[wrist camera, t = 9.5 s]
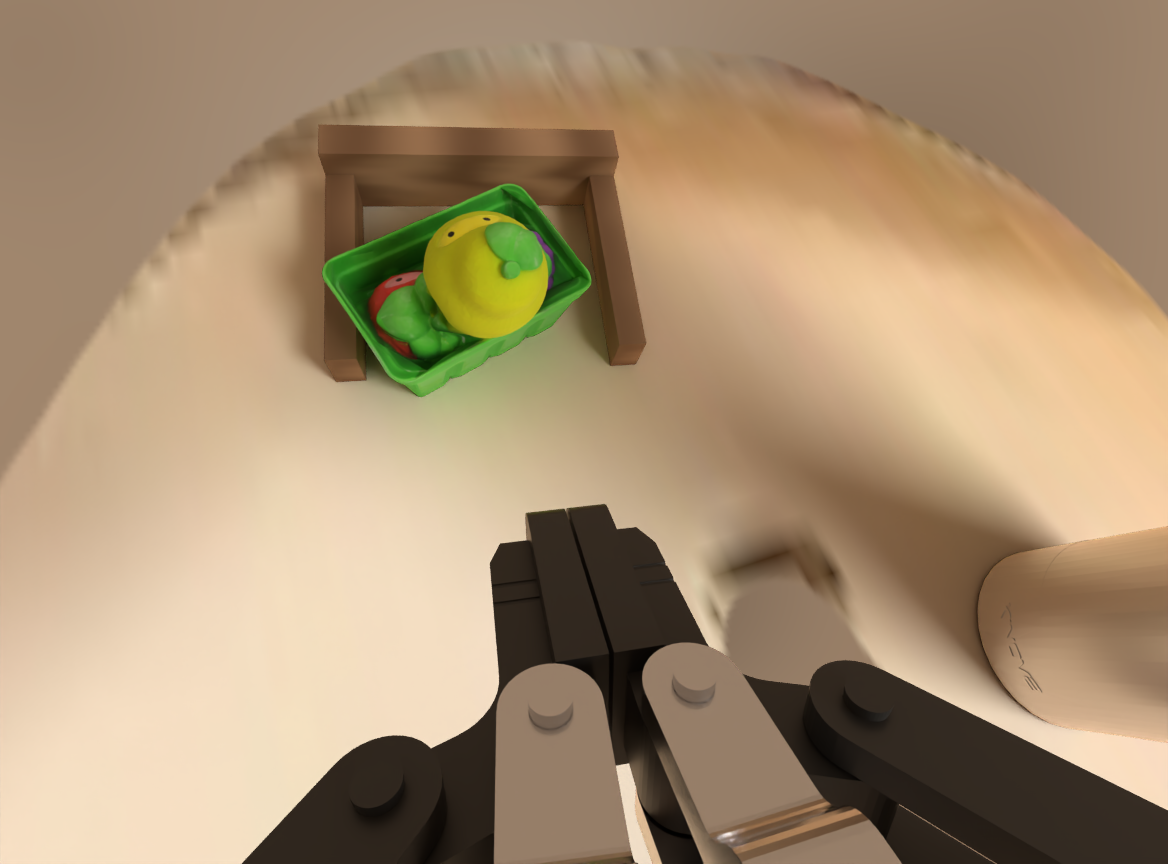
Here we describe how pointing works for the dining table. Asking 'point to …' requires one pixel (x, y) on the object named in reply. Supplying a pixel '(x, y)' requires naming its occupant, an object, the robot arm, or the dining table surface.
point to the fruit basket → (458, 286)
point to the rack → (459, 172)
